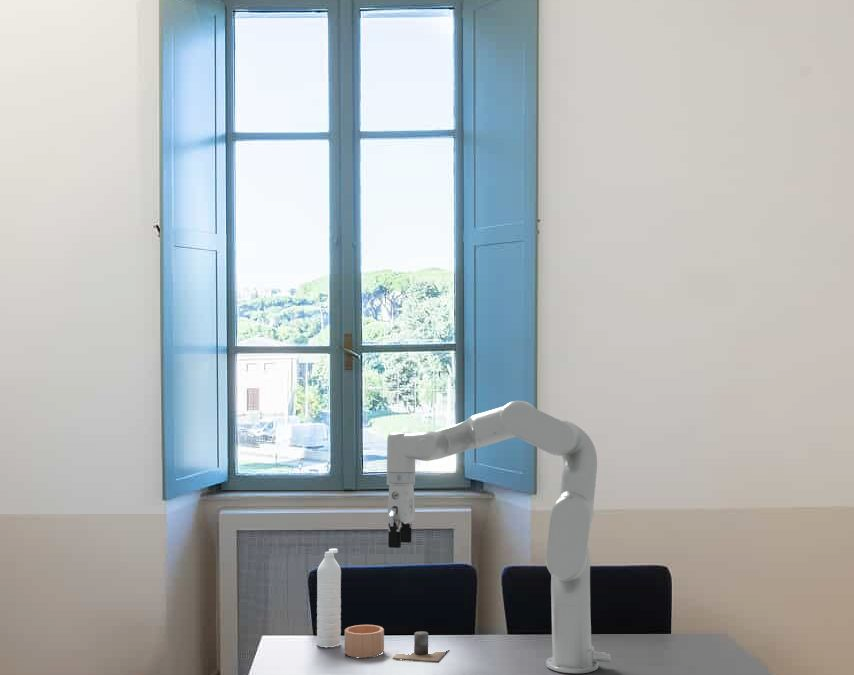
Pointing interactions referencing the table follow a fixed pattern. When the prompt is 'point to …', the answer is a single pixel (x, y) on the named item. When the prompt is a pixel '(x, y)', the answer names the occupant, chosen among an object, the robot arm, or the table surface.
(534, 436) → the robot arm
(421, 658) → the lid
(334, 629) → the water bottle
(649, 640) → the table surface
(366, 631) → the bowl
